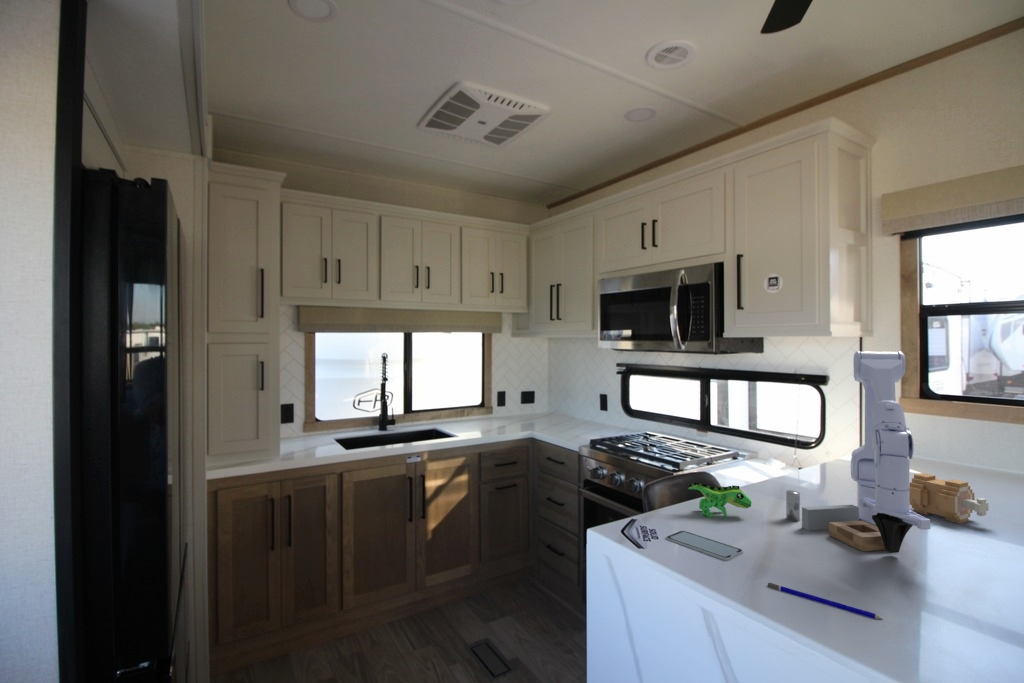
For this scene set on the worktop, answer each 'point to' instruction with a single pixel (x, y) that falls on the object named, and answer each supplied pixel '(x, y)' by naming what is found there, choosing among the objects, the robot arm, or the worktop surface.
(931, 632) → the worktop surface
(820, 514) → the wall
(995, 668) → the worktop surface
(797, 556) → the worktop surface
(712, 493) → the toy
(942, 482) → the voxel meat on bone
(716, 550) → the smartphone
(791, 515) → the dowel
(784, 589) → the pencil
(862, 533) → the block
